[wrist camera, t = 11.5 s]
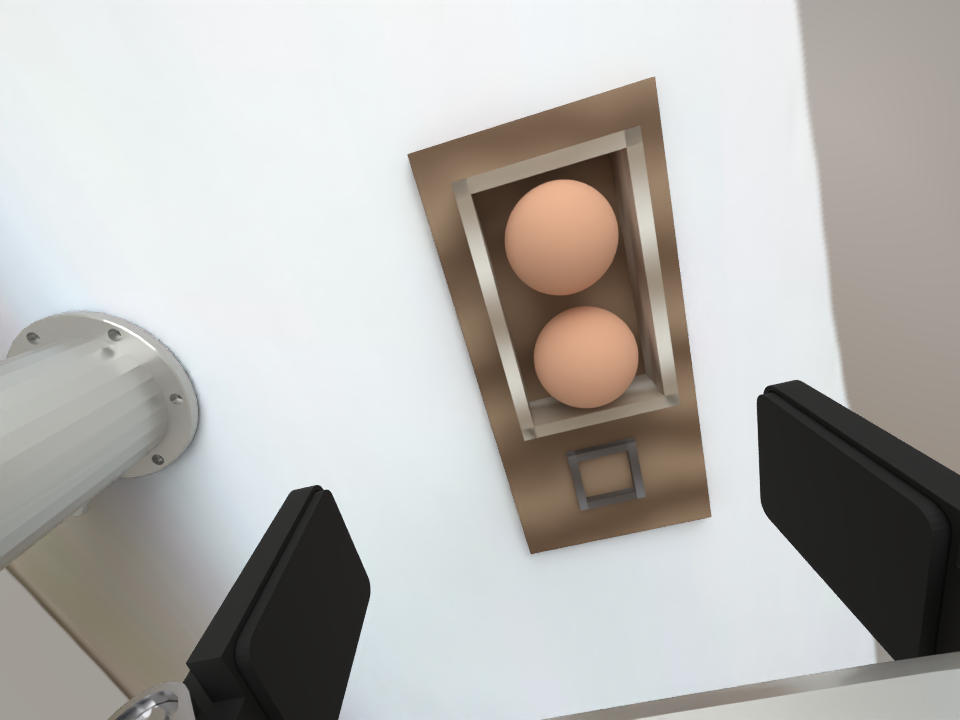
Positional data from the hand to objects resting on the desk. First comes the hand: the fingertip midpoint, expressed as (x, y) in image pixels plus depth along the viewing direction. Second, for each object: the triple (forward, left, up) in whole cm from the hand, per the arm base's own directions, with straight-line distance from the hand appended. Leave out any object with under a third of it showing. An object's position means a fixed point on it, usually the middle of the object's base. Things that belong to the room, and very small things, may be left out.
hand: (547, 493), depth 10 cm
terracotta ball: (-1, -5, -17) cm, 18 cm away
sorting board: (-2, -7, -21) cm, 22 cm away
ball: (+4, -1, -17) cm, 18 cm away
